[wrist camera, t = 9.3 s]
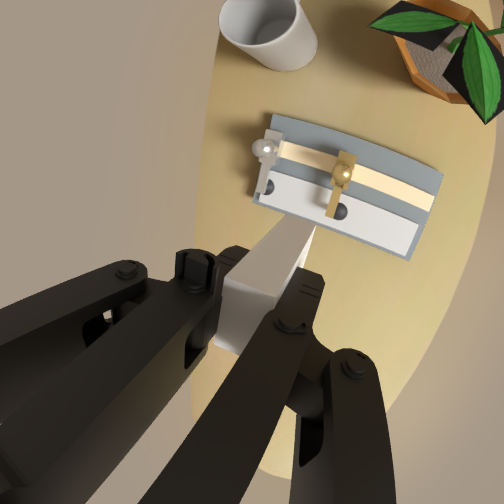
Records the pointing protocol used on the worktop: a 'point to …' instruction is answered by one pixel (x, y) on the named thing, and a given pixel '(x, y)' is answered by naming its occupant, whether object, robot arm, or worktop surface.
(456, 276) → the worktop surface
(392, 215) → the board
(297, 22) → the mug
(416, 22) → the potted plant
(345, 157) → the brass slider pointer
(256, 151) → the fixed leg
